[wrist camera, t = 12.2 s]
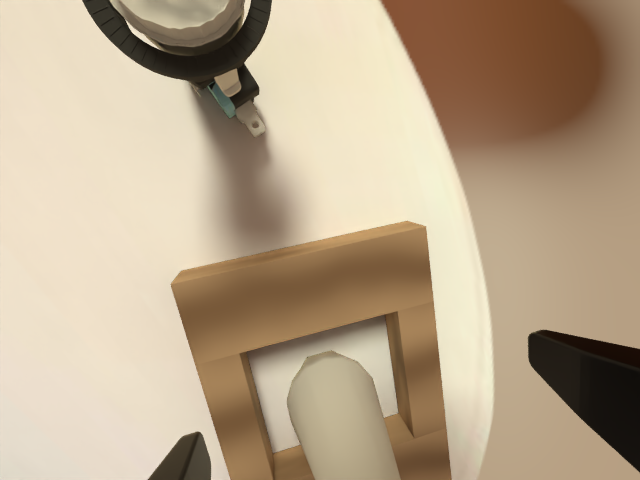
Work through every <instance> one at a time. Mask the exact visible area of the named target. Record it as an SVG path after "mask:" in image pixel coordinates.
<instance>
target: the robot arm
mask: <svg viewBox="0 0 640 480" xmlns="http://www.w3.org/2000/svg"><path fill="white" fill-rule="evenodd" d="M528 358H529V362H530V364H531V366H532V367H533V368H534V370H535V371H536V372H537V373H538V374H539V375H540V376H541V377H542V378H543V379H544V380H545V381H546V383H547V384H548V385H549V386H550V387H551V388H552V389H553V390H554V391H555V392H556V393H557V394H558V395H559V396H560V397H561V398H562V400H563V401H564V402H565V403H566V404H567V405H568V406H569V407H570V408H571V409H572V410H573V411H574V412H575V413H576V414H577V415H578V416H579V417H580V418H581V419H582V420H583V421H584V422H585V423H586V424H587V425H588V426H590V428H592V429H593V430H594V431H595V432H596V433H597V434H598V435H600V437H601V438H603V439H604V440H605V441H606V442H607V443H608V444H609V445H610V446H611V447H612V448H614V449H615V450H616V451H617V452H618V453H619V454H620V455H621V456H622V457H623V458H624V459H626V460H627V461H628V462H629V463H630V464H631V465H632V466H633V467H635V468H636V469H637V470H638V471H639V472H640V349H637V348H632V347H627V346H622V345H617V344H613V343H608V342H603V341H598V340H593V339H588V338H583V337H578V336H573V335H568V334H564V333H559V332H554V331H549V330H539V331H536V332H533V333H531V334H529V336H528ZM148 480H211V461H210V457H209V454H208V451H207V447H206V444H205V441H204V438H203V435H202V434H201V432H195V433H191V434H188V435H185V436H183V437H181V438H180V440H179V441H178V442H177V443H176V445H175V446H174V447H173V448H172V450H171V451H170V452H169V453H168V455H167V456H166V457H165V458H164V460H163V461H162V462H161V464H160V465H159V466H158V467H157V469H156V470H155V471H154V472H153V474H152V475H151V476H150V477H149V479H148Z"/></svg>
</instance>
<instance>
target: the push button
mask: <svg viewBox="0 0 640 480" xmlns="http://www.w3.org/2000/svg"><path fill="white" fill-rule="evenodd" d="M82 1H83V3H84V5H85V7H86V9H87V10H88V12H89V14H90V15H91V17H92V19H93V20H94V22H95V23H96V24H97V26H98V27H99V28H100V30H101V31H102V32H103V33H104V34H105V35H106V37H107V38H108V39H109V40H110V41H111V42H112V43H113V44H114V45H115V46H116V47H118V48H119V49H120V50H121V51H122V52H123V53H124V54H125V55H127V56H128V57H129V58H131V59H132V60H134V61H135V62H137V63H138V64H140V65H141V66H143V67H145V68H147V69H149V70H151V71H153V72H156V73H158V74H161V75H164V76H167V77H171V78H176V79H181V80H187V81H189V83H190V84H191V85H192V87H193V88H194V90H195V91H196V92H197V94H198V95H199V97H200V94H199V93H198V91H197V90H198V89H199V88H200V89H201V90H202V89H204V88H206V87H207V88H208V89H209V90H210V92H211V93H212V95H213V96H214V98H215V99H216V100H217V102H218V103H219V105H220V106H221V108H222V109H223V110H224V112H225V113H226V115H227V116H228V117H229V119H230V118H231V117H233V116H234V115H236V117H237V118H238V120H239V121H240V122H241V123H243V122H244V124H245V125H246V126H247V128H248V129H249V131H250V132H251V134H252V135H253V137H254V138H257V137H258V136H260V135H261V134H262V133H264V132H265V129H266V127H265V125H264V124H263V122H262V121H261V119H260V118H259V116H258V115H257V112H256V110H257V109H256V107H255V106H254V104H253V102H254V97H256V96H257V95H259V86H258V84H257V83H256V81H255V80H254V78H253V77H252V75H251V73H250V72H249V70H248V69H247V67H246V66H245V64H244V62H245V61H246V59H247V58H248V57H249V56H250V55H251V54H252V52H253V51H254V50H255V49H256V47H257V46H258V44H259V43H260V41H261V39H262V37H263V35H264V33H265V30H266V27H267V24H268V21H269V17H270V11H271V3H272V0H251V5H250V9H249V12H248V15H247V17H246V20H245V22H244V24H243V25H242V22H243V17H244V2H245V0H82ZM124 18H125V19H126V20H127V21H128V22H129V23H130V24H131V25H132V26H133V27H134V28H135V29H136V30H138V31H139V32H140V33H143V34H144V35H145V36H146V37H147V38H148V39H149V40H150V41H151V42H152V43H153V44H155V45H156V46H157V47H158V48H159V49H160V50H159V49H157V48H154V47H152V46H150V45H149V44H147V43H145V42H143V41H142V40H141V39H139V38H138V37H136V36H135V35H134V34H133V33H132V32H131V30H130V29H129V27H128V25H127V23H126V21H125V19H124ZM161 50H162V51H161ZM255 123H256V124H258V126H259V127H258V128H253V127H252V124H255Z"/></svg>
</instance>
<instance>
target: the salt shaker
mask: <svg viewBox="0 0 640 480" xmlns="http://www.w3.org/2000/svg"><path fill="white" fill-rule="evenodd" d="M287 407H288V411H289V415H290V419H291V422H292V425H293V427H294V430H295V432H296V434H297V437H298V439H299V442H300V444H301V447H302V449H303V451H304V454H305V456H306V459H307V461H308V463H309V466H310V468H311V471H312V473H313V476H314V478H315V480H401V478H400V475H399V471H398V468H397V464H396V460H395V457H394V453H393V450H392V446H391V443H390V439H389V435H388V432H387V428H386V425H385V421H384V417H383V414H382V410H381V407H380V403H379V400H378V396H377V392H376V389H375V385H374V382H373V378H372V377H371V376H370V375H369V374H368V373H367V371H366V370H365V369H364V368H363V367H362V366H361V365H360V364H359V362H357V361H355V360H352V359H350V358H347V357H345V356H343V355H340V354H338V353H336V352H334V351H332V350H331V351H327V352H324V353H320V354H316V355H313V356H309V357H307V358H306V360H305V362H304V363H303V365H302V367H301V369H300V370H299V372H298V373H297V375H296V376H295V377H294V379H293V380H292V383H291V387H290V390H289V394H288V398H287Z"/></svg>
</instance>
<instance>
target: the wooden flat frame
mask: <svg viewBox="0 0 640 480" xmlns="http://www.w3.org/2000/svg"><path fill="white" fill-rule="evenodd" d="M171 287H172V291H173V294H174V297H175V300H176V304H177V307H178V310H179V313H180V317H181V320H182V323H183V326H184V330H185V333H186V336H187V339H188V343H189V346H190V349H191V352H192V356H193V359H194V362H195V365H196V369H197V372H198V375H199V378H200V382H201V385H202V388H203V391H204V395H205V398H206V401H207V404H208V408H209V411H210V414H211V417H212V421H213V424H214V427H215V430H216V433H217V437H218V440H219V443H220V446H221V450H222V453H223V456H224V459H225V463H226V466H227V469H228V472H229V476H230V479H231V480H315V478H314V476H313V473H312V471H311V468H310V466H309V463H308V461H307V459H306V456H305V454H304V451H303V449H302V447H301V445H299V446H296V447H293V448H289V449H286V450H283V451H280V452H277V453H274V454H273V452H272V449H271V445H270V441H269V437H268V433H267V430H266V426H265V422H264V418H263V414H262V410H261V407H260V403H259V399H258V395H257V391H256V388H255V384H254V380H253V376H252V372H251V369H250V365H249V361H248V357H247V353H246V351H250V350H254V349H257V348H261V347H265V346H269V345H272V344H276V343H280V342H284V341H287V340H291V339H295V338H298V337H302V336H306V335H310V334H313V333H317V332H321V331H325V330H328V329H332V328H336V327H340V326H343V325H347V324H351V323H355V322H358V321H362V320H366V319H369V318H373V317H377V316H381V315H384V314H385V318H386V325H387V332H388V340H389V347H390V354H391V361H392V368H393V375H394V382H395V389H396V396H397V403H398V410H399V413H398V414H395V415H392V416H389V417H386V418H384V421H385V425H386V428H387V432H388V435H389V439H390V443H391V446H392V450H393V453H394V457H395V460H396V464H397V468H398V471H399V475H400V478H401V480H451V470H450V460H449V450H448V440H447V430H446V420H445V410H444V400H443V390H442V380H441V371H440V361H439V351H438V341H437V331H436V321H435V311H434V301H433V291H432V281H431V271H430V261H429V251H428V241H427V232H426V226H423V225H419V224H416V223H413V222H409V221H404V222H400V223H395V224H391V225H386V226H382V227H377V228H373V229H368V230H364V231H359V232H355V233H350V234H345V235H341V236H336V237H332V238H327V239H323V240H318V241H314V242H309V243H305V244H300V245H296V246H291V247H287V248H282V249H278V250H273V251H269V252H264V253H260V254H255V255H251V256H246V257H242V258H237V259H233V260H228V261H224V262H219V263H215V264H210V265H205V266H201V267H196V268H192V269H187V270H183V271H181V272H180V273H179V274H178V276H177V277H176V278H175V279H174V281H173V282H172V283H171Z"/></svg>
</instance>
